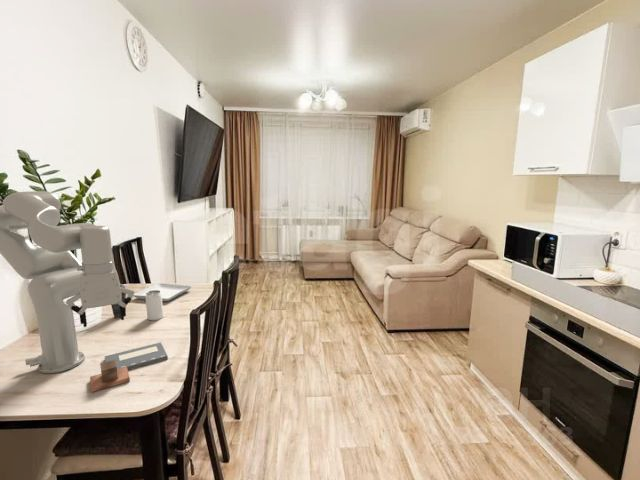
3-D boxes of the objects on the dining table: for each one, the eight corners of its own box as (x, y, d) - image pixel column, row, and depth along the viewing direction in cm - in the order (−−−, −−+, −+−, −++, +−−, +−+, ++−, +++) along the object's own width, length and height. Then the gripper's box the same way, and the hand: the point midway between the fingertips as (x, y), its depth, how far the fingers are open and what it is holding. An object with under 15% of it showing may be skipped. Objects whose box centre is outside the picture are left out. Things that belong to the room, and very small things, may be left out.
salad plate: (192, 291, 192) (192, 285, 191) (168, 304, 172) (167, 298, 171) (159, 288, 197) (159, 282, 196) (131, 301, 176) (131, 294, 176)
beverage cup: (116, 320, 152) (111, 276, 148) (107, 317, 155) (102, 274, 152) (132, 315, 158) (127, 272, 154) (123, 312, 161) (119, 270, 158)
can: (144, 319, 153) (141, 293, 151) (156, 314, 159) (153, 289, 157) (155, 321, 151) (152, 295, 149) (166, 316, 157) (164, 290, 154)
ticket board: (107, 375, 110) (106, 371, 110) (104, 359, 120) (104, 356, 119) (167, 358, 120) (167, 355, 120) (161, 345, 130) (160, 342, 129)
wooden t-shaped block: (91, 392, 101) (89, 376, 100) (90, 380, 107) (88, 364, 106) (129, 380, 107) (128, 365, 106) (127, 370, 113) (125, 355, 112)
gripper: (61, 275, 94) (68, 333, 98) (132, 266, 104) (137, 320, 107) (63, 268, 101) (70, 323, 104) (130, 261, 110) (134, 312, 113)
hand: (104, 321), depth 105 cm, fingers open, 9 cm apart
